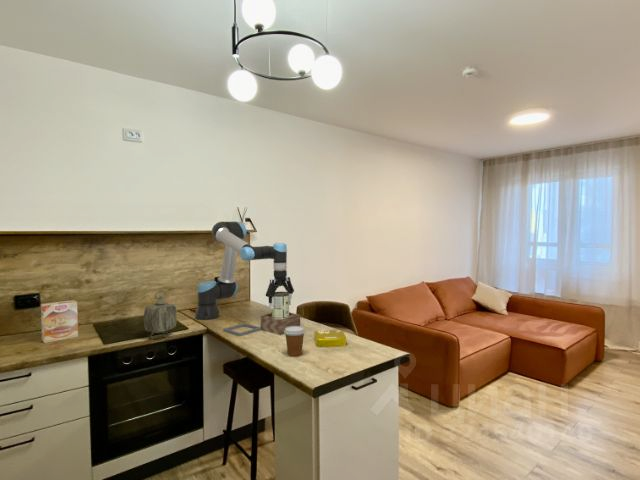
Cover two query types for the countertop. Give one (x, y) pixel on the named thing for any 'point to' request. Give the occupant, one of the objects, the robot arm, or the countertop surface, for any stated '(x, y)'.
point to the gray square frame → (229, 330)
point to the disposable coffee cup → (294, 340)
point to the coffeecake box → (59, 321)
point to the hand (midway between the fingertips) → (280, 306)
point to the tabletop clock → (160, 316)
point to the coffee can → (281, 305)
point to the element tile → (330, 338)
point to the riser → (279, 323)
